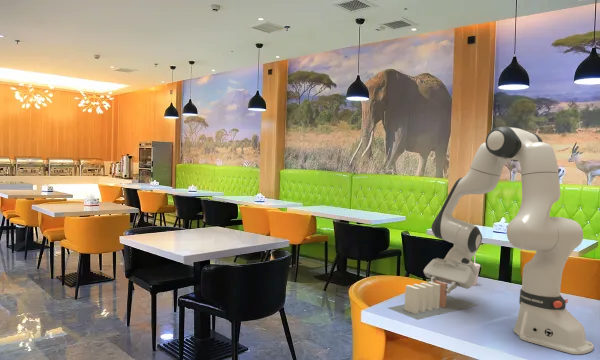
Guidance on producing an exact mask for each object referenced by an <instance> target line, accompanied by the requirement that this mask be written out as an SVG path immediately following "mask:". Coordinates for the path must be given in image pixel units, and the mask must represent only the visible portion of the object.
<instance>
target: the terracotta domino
mask: <svg viewBox="0 0 600 360" xmlns="http://www.w3.org/2000/svg"><path fill="white" fill-rule="evenodd" d="M434 283H436V284H440V285H441V286H440V301H439V306H440V307H443V308H444V307H446V298H447V296H448V293H445V291H444V290H445V288H446V287H448V283H445V282H441V281H438V280H436V281H434Z"/></svg>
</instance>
